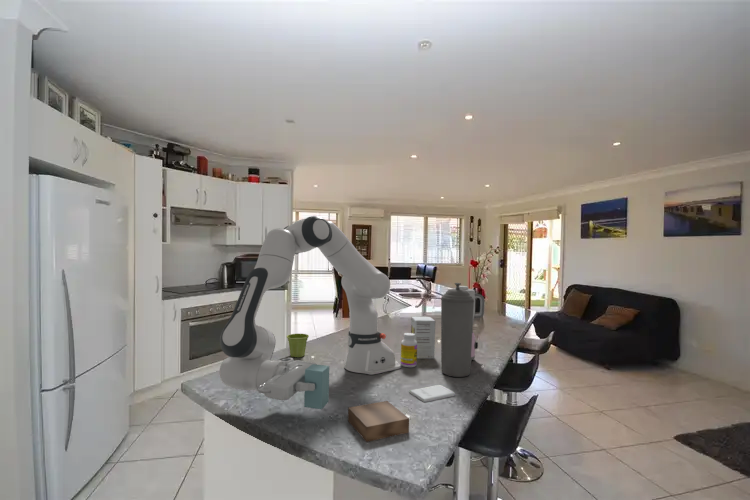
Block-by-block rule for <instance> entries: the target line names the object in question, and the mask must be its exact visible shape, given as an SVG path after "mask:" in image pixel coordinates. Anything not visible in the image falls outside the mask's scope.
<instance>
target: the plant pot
mask: <svg viewBox="0 0 750 500" xmlns="http://www.w3.org/2000/svg"><path fill="white" fill-rule="evenodd" d="M286 338H287V341H288V346H289V355H290V358H296V357H297V358H302V357H304V356H305V354H306V347H307V343H308V339H309V334H306V333H290V334H288V335H286Z"/></svg>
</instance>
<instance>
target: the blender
mask: <svg viewBox="0 0 750 500" xmlns="http://www.w3.org/2000/svg"><path fill="white" fill-rule="evenodd" d="M459 288H460V289H461V290H466V291H467V292H468V293H469V294H470V295H471V296H472V298H473V299H474V308H473V323H474V320H475V319H476V318H477V319H478V318H479V319H480V318H482V317H484V316H485V315H484V313H485V298H484V296H483V295H482V294H480V293H476V291H475V289H472V288H469V286H467V285H459ZM450 289H456V287H454V288H447V291H448V290H450ZM476 298H477V299H479V301H480V303H479V304H480V306H479V313H476ZM473 329H474V328H473ZM473 329H472V347H471V361H472V360H473V361H474V360H475V359H476V358H475V357H476V349H478V348H479V343H478V342H477V341H476V335H475V333H474V330H473Z"/></svg>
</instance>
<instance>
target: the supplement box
mask: <svg viewBox="0 0 750 500" xmlns="http://www.w3.org/2000/svg"><path fill="white" fill-rule="evenodd" d="M410 333H413V334H415V338H414V340H416V341H417V359H435V349H436V347H435V344H436V320H435V319H433V317H431V316H411V319H410Z"/></svg>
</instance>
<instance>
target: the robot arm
mask: <svg viewBox="0 0 750 500" xmlns="http://www.w3.org/2000/svg"><path fill="white" fill-rule="evenodd" d="M316 248H318V250H320V252H321V253H322V254H323V256H324V257H325V258H326V260H327V261H328V262H329V264H330V265H331V266H332V267H333V268H334V270H335V271H336V272H337V273H339V274H340V275H342V277H341V286H342V289H343V290H344V292H345V295H346V298H347V304H348V309H349V331H348V334H347V335H348V336H347V346H348V349H347V356H346V360H345V364H344V369H345V370H347V371H349V372H353V373H359V374H365V375H372V376H373V375H377V374H381V373H386V372H390V371H395V370H399V369H401V368H402V365H401V362H399V361H397V360H396V355H395V352H394V350H393V349H391V347H389V346H388V345H387V344H386V343H385V342H383V341H382V339H383V340H385V339H386V337H387V335H386V334H385V333H381V332H379V331H378V323H379V322H378V320H379V318H378V315H379V314H378V311H377V309H376V307H375V305H374V303H373V300H376V299H383V298H384V297H386V296H387V294H388V293H389V291H390V289H391V280H390V279H389V277H388V276H387V275H386V274H385V273H383V272H382V271H380V270H379V269H378V268H376V267H375V265H373V264H372V263H371V262H370V261H368V259H366V258H365V256H363V255H362V254H361V253H360V252H359V251H358V249H357V248H356V247H355V245H354V244H353V243H352V242H351V241H350V239H349V237H348V236H346V234H345V233H344V232H343V230H341V229H340V227H338V226H337V225H336V224H335V223H334V222H333V221H331V220H326V219H325V218H324V217H323V216H322V217H321V216H319V215H313V216H308V217H305V218H301V219H299V220H296V221H295V222H293V223H291V224H290V225H287V226H285V227H284V228H273V229H271V230H269V231H268V232H267V235H266V236H265V238H264V240H263V243H262V244H261V248H260V250H259V254H258V258H257V261H256V263H255V266H254V268H253V269H252V270H251V271H250V272H249V273H248V275H247V277H246V279H245V281H244V284H243V286H242V289H241V291H240V293H239V295H238V299H237V300H236V301H237V302H236V303H235V306H234V309H233V311H232V314H231V315H230V318H229V320H228V321H227V322H226V323H225V326H224V327H223V329H222V330H221V333H220V337H219V346H220V349H221V351H222V352H223V353H224V354H225V355H226V356H227V358H225V359H224V360H222V362H221V364H220V367H219V378H220V381H221V382H222V383H223V385H225V386H226V387H229V388H231V389H235V390H240V391H255V392H258V393H259V394H264V397H267V398H269V399H273V400H277V401H287V400H290V399H291V398H292V397H293V396H295V394H297V393H298V392H300V393H301V392H305V391H308V390H309V391H314V390H315V389H316V383H315V382H309V383H305V369H307V368H308V367H309V366H311V365H312V364H316V365H318V364H317V363H315V362H311V361H305V360H299V359H298V360H294V357H287V358H286V357H285V358H282V359H274V360H273V359H272V357H273V354H274V351H275V347H276V343H277V342H276V338H275V337H276V336H275V334H274V333H273V332H272V331H271V330H270V329H268V328H265V327H263V326H260V325H257V324H256V316H257V314H258V312H259V311H258V310H259V308H260V305H261V302H262V300H263V297H264V295H265V293H267V291H269V290H273V289H278V288H280V287H282V286H284V285H285V284H287V282H288V281H289V278H290V276H291V273H292V270H293V265H294V261H295V255H298V254H301V253H306V252H309V251H312V250H314V249H316Z"/></svg>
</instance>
